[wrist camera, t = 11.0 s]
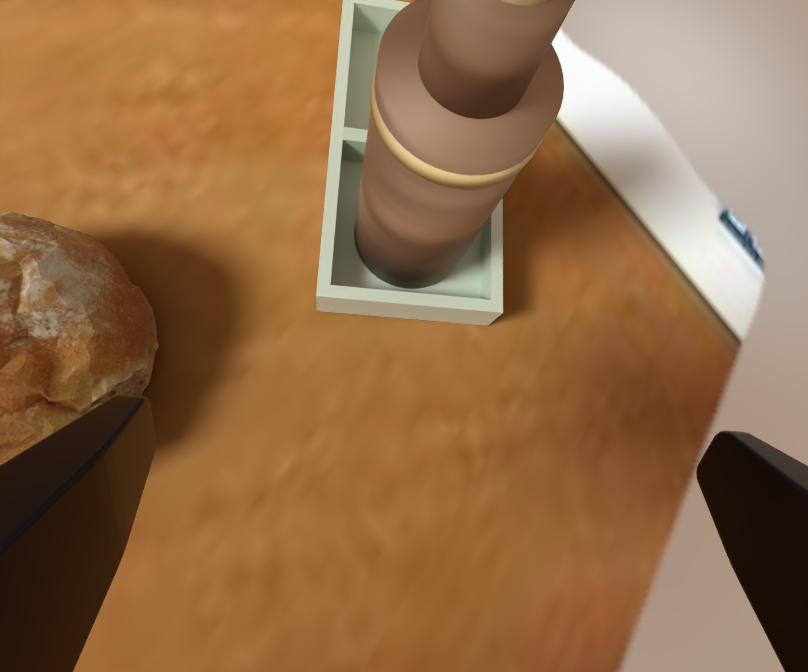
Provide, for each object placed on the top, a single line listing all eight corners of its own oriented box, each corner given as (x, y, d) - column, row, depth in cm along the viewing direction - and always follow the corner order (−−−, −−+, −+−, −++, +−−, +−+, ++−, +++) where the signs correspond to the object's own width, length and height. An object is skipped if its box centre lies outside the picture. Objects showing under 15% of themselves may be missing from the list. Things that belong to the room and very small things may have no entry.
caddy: (487, 325, 23) (502, 312, 21) (316, 310, 22) (316, 296, 20) (489, 51, 26) (502, 18, 24) (342, 27, 25) (343, -9, 23)
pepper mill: (482, 266, 23) (711, -15, 9) (381, 306, 22) (477, 54, 8) (435, 171, 24) (583, -214, 10) (334, 206, 22) (352, -176, 9)
